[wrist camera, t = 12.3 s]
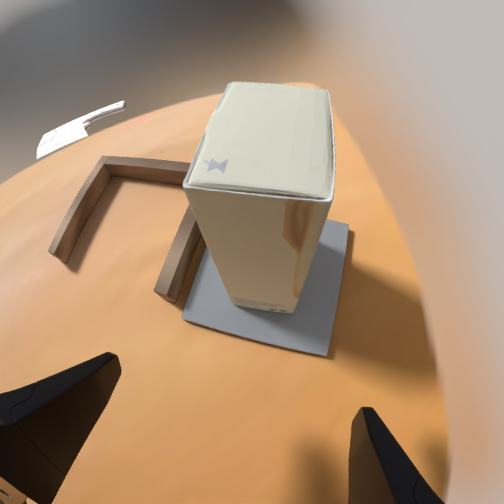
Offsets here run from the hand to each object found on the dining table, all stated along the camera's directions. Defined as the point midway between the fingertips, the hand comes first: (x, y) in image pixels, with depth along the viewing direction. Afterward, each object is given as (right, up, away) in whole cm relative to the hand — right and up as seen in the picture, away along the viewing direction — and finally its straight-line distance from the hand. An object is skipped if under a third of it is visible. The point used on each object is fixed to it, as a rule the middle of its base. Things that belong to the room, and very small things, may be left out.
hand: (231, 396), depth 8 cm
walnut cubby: (-10, +7, +14) cm, 18 cm away
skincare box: (+2, +4, +11) cm, 12 cm away
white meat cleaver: (-24, +22, +22) cm, 39 cm away
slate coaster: (+2, +3, +11) cm, 12 cm away
